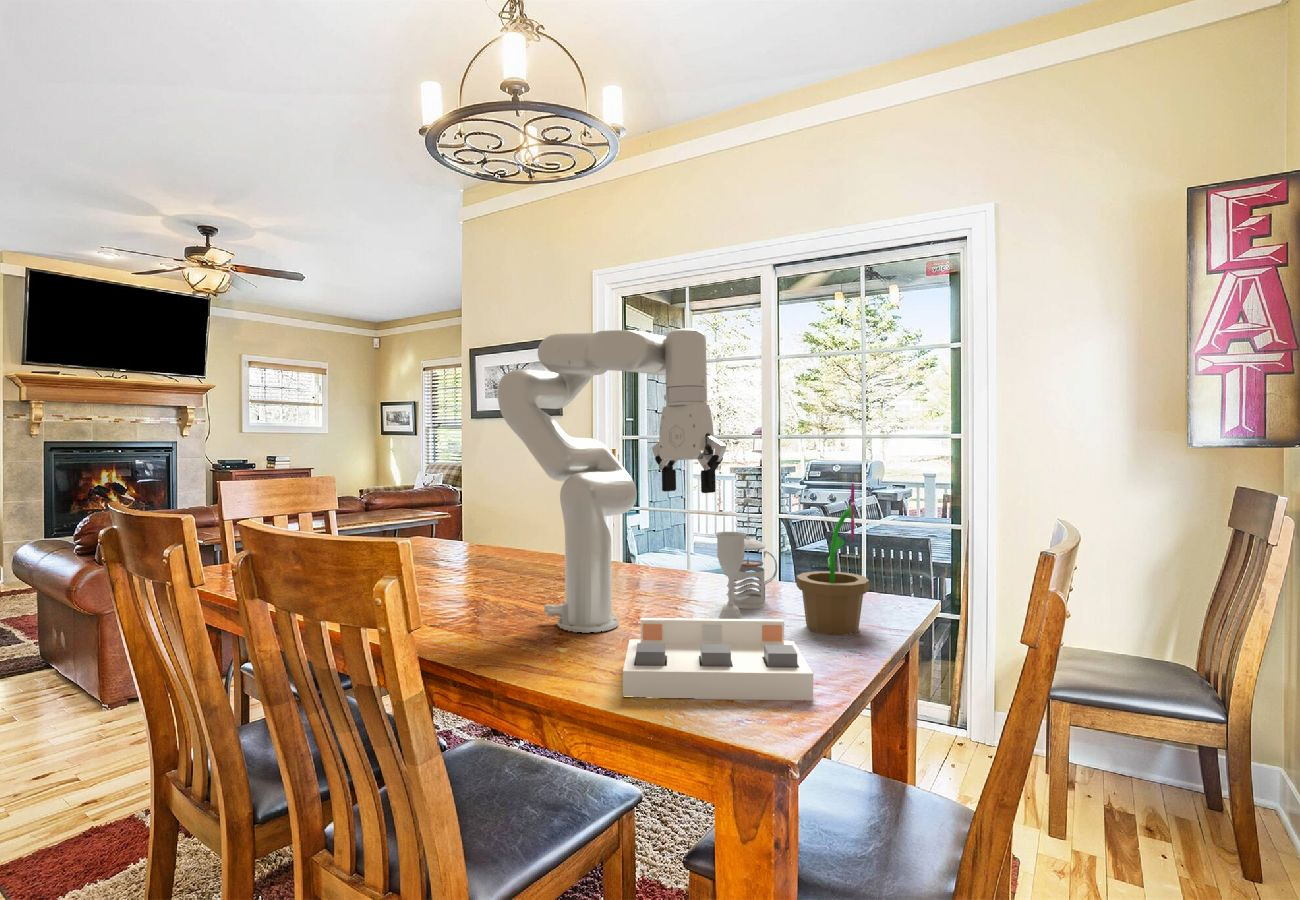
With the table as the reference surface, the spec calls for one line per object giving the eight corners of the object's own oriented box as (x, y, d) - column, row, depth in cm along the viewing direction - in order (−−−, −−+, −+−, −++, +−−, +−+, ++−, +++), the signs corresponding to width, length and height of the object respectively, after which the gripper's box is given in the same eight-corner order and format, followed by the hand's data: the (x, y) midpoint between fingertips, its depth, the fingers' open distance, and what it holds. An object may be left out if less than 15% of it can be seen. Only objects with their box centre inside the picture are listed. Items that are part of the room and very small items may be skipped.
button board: (622, 698, 99) (622, 644, 99) (629, 662, 115) (629, 616, 115) (813, 700, 98) (813, 646, 98) (793, 664, 114) (793, 617, 114)
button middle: (701, 672, 102) (701, 652, 102) (700, 662, 106) (700, 643, 106) (730, 672, 101) (730, 652, 101) (728, 663, 106) (728, 644, 106)
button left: (635, 671, 102) (635, 651, 102) (637, 662, 106) (637, 643, 106) (664, 671, 102) (664, 652, 102) (665, 662, 106) (665, 643, 106)
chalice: (712, 612, 149) (712, 531, 149) (742, 612, 149) (742, 531, 149) (718, 621, 142) (718, 536, 141) (749, 620, 142) (750, 536, 142)
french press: (726, 598, 163) (726, 495, 162) (774, 599, 162) (775, 495, 161) (727, 608, 153) (727, 498, 153) (778, 609, 152) (779, 499, 152)
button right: (768, 673, 101) (768, 653, 101) (764, 663, 106) (764, 644, 106) (797, 673, 101) (797, 653, 101) (792, 663, 106) (792, 644, 105)
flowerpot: (869, 641, 128) (870, 484, 128) (793, 634, 132) (793, 482, 132) (868, 621, 142) (869, 479, 141) (799, 616, 146) (799, 478, 145)
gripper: (639, 400, 126) (640, 491, 126) (708, 393, 114) (710, 494, 113) (667, 402, 131) (668, 489, 131) (736, 395, 119) (738, 492, 119)
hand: (688, 491), depth 122 cm, fingers open, 9 cm apart
